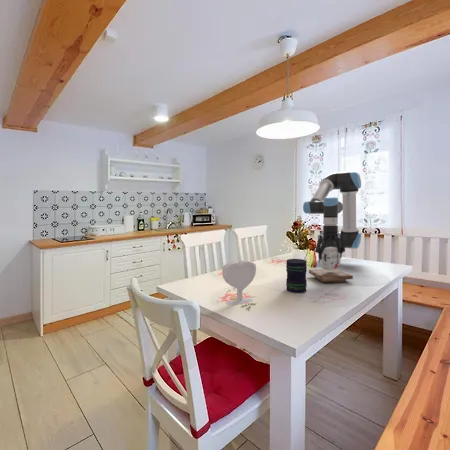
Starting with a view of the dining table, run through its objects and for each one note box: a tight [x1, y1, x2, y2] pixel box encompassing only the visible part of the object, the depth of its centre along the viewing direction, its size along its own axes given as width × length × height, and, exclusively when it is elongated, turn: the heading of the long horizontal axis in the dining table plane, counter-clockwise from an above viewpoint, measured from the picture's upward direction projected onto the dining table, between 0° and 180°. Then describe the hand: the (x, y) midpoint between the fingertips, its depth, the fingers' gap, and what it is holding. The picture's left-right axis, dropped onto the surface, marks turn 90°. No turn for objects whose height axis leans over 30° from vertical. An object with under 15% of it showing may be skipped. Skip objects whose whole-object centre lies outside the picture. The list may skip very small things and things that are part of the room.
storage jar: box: [285, 258, 308, 294], centre depth 135 cm, size 10×10×15 cm
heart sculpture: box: [221, 259, 257, 307], centre depth 120 cm, size 16×5×18 cm, turn 118°
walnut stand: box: [308, 268, 354, 284], centre depth 153 cm, size 17×17×4 cm
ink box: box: [321, 247, 339, 270], centre depth 152 cm, size 8×5×12 cm, turn 129°
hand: (329, 264), depth 152 cm, fingers closed on ink box, 9 cm apart
